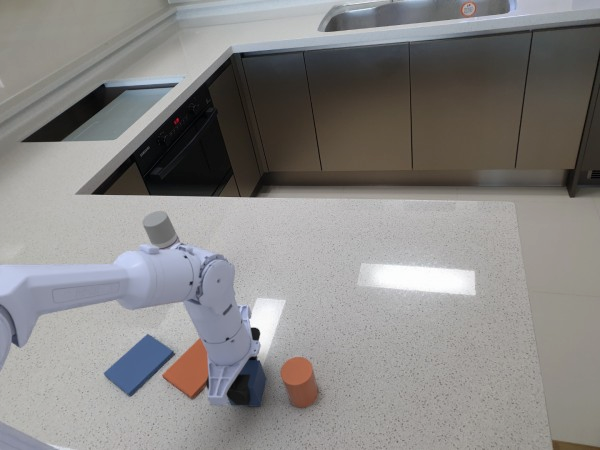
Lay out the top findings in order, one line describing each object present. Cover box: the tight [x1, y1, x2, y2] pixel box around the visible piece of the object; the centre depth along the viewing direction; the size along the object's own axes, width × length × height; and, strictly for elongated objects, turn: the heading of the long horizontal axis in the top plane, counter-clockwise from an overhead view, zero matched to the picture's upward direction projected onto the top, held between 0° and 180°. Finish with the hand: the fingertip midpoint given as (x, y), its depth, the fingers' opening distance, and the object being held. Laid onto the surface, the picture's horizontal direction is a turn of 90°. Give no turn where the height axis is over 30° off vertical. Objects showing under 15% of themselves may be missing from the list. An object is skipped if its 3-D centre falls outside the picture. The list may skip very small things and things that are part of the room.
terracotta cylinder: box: [279, 356, 320, 408], centre depth 63 cm, size 4×4×6 cm
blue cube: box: [228, 359, 268, 407], centre depth 66 cm, size 4×4×4 cm
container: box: [141, 210, 181, 250], centre depth 84 cm, size 5×5×15 cm
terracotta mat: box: [161, 337, 209, 400], centre depth 72 cm, size 9×7×1 cm
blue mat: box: [103, 333, 175, 397], centre depth 74 cm, size 9×7×1 cm
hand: (246, 386), depth 66 cm, fingers closed on blue cube, 4 cm apart
